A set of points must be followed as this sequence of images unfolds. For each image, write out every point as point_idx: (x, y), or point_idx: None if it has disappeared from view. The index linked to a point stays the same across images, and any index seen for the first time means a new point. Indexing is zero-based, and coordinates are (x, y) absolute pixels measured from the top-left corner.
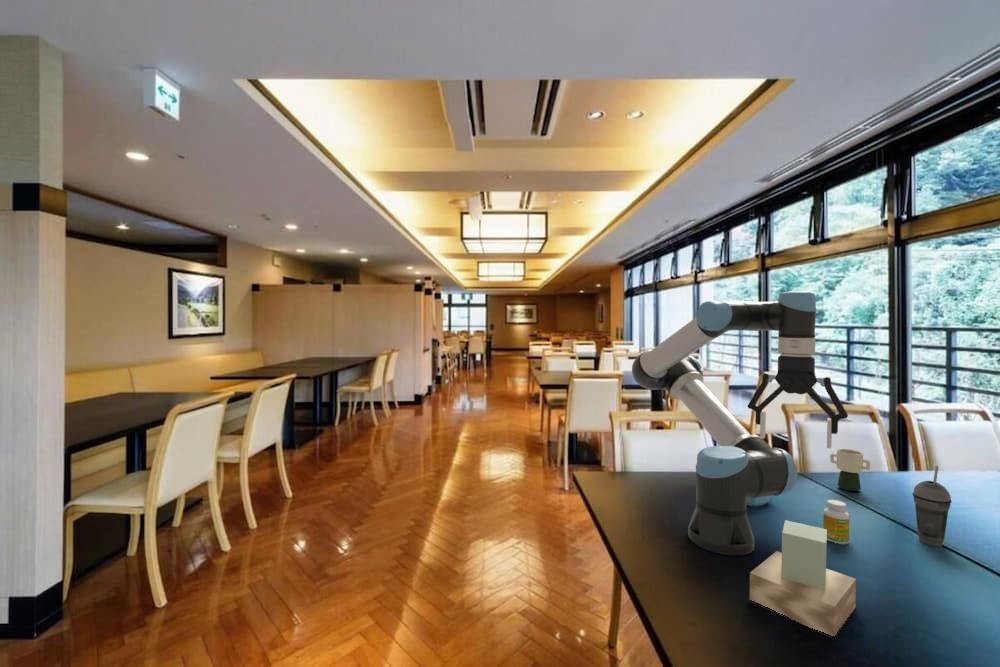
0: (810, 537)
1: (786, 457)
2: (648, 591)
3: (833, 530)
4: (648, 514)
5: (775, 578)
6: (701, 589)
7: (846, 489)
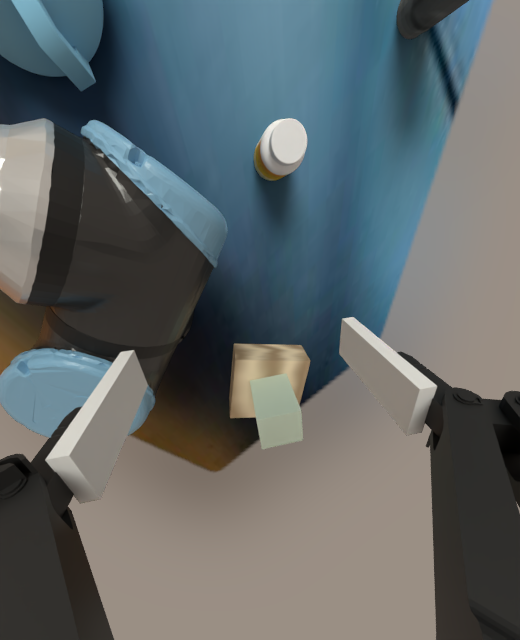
0: (288, 439)
1: (196, 241)
2: (163, 441)
3: (274, 178)
4: (5, 299)
5: (250, 411)
6: (192, 411)
7: None
